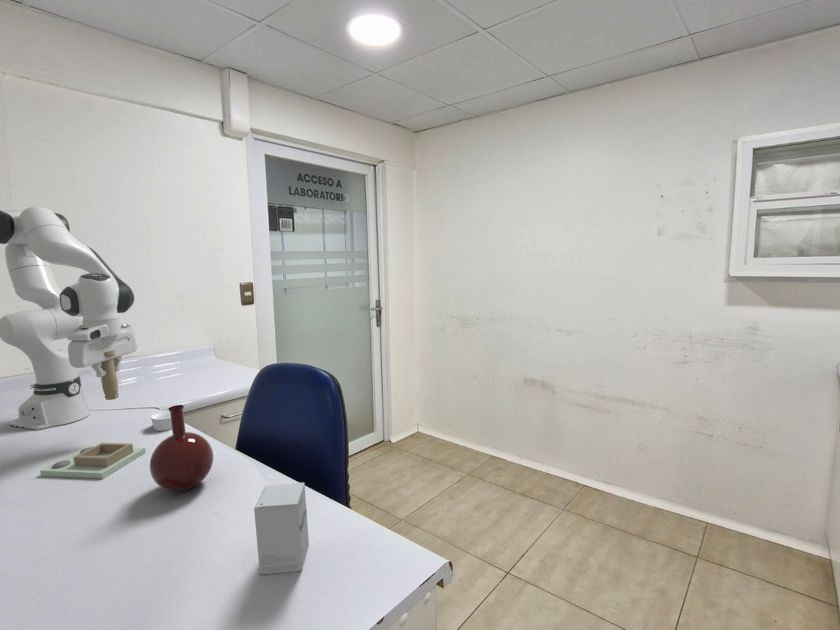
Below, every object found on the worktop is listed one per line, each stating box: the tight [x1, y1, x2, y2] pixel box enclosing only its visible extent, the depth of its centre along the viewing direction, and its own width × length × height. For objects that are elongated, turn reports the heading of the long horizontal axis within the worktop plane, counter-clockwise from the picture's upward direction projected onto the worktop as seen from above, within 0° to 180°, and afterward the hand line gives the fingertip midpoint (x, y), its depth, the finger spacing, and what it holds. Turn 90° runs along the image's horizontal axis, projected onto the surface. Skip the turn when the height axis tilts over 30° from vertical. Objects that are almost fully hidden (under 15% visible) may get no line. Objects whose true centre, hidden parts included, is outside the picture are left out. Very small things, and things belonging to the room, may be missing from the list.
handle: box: [100, 350, 120, 401], centre depth 128 cm, size 5×6×15 cm
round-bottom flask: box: [149, 404, 214, 492], centre depth 101 cm, size 13×13×20 cm
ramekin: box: [150, 409, 172, 432], centre depth 139 cm, size 9×9×4 cm
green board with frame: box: [39, 442, 147, 480], centre depth 115 cm, size 18×14×4 cm
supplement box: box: [253, 482, 310, 575], centre depth 76 cm, size 7×7×13 cm
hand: (108, 374), depth 128 cm, fingers closed on handle, 3 cm apart
